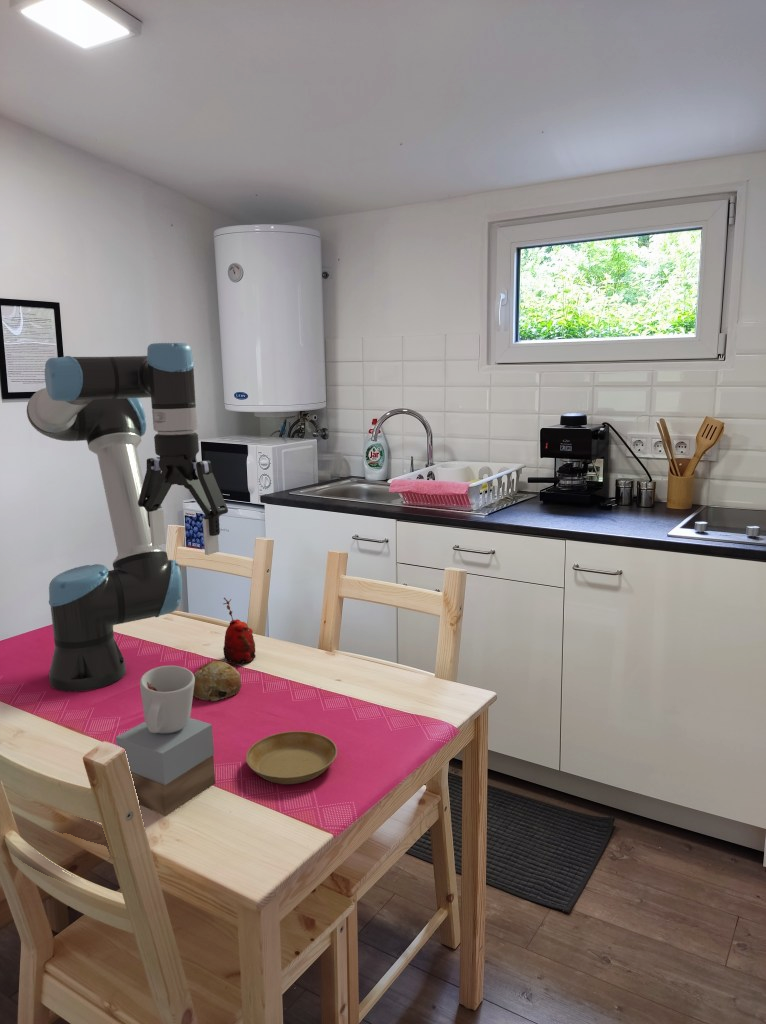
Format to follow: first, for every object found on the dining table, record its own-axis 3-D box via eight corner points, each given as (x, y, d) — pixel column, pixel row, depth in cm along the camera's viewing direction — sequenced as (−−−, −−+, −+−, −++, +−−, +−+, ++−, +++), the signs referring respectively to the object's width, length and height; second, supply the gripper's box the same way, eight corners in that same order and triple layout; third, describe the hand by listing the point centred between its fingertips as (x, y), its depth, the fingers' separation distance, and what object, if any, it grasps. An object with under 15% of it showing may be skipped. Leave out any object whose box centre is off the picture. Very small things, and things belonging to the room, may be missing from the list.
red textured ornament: (259, 662, 164) (255, 597, 161) (227, 668, 161) (223, 602, 158) (251, 651, 171) (248, 588, 168) (221, 656, 168) (216, 592, 165)
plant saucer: (293, 735, 131) (293, 722, 131) (356, 762, 122) (355, 748, 122) (227, 771, 120) (226, 756, 120) (291, 803, 111) (290, 788, 111)
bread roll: (196, 719, 146) (197, 692, 141) (183, 681, 153) (184, 654, 149) (245, 708, 150) (248, 680, 146) (230, 671, 157) (233, 644, 153)
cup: (178, 754, 108) (178, 707, 105) (124, 747, 108) (123, 700, 105) (201, 712, 118) (201, 668, 115) (151, 706, 118) (151, 662, 116)
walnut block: (120, 797, 114) (118, 767, 113) (171, 767, 122) (169, 739, 121) (165, 817, 108) (163, 786, 107) (215, 784, 117) (213, 755, 116)
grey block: (118, 767, 113) (115, 736, 112) (168, 738, 121) (166, 710, 120) (165, 785, 108) (162, 753, 107) (214, 754, 116) (211, 724, 115)
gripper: (111, 432, 134) (122, 545, 139) (212, 436, 122) (220, 561, 126) (144, 428, 141) (153, 537, 145) (243, 432, 128) (250, 551, 132)
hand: (184, 549), depth 135 cm, fingers open, 13 cm apart
